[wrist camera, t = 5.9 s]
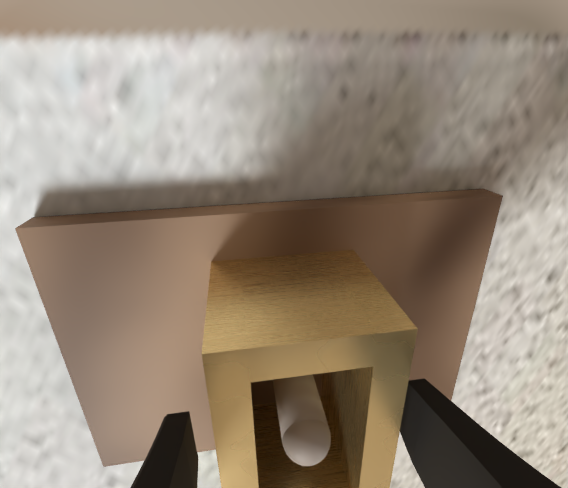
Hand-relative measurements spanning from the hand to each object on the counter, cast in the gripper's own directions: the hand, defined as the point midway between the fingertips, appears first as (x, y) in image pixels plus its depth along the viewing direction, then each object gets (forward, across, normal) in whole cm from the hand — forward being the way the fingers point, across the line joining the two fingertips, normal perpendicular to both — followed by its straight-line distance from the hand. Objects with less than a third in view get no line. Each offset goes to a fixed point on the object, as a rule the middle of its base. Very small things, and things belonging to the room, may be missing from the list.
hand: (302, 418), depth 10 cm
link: (+3, 0, 0) cm, 3 cm away
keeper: (+4, 0, 0) cm, 4 cm away
